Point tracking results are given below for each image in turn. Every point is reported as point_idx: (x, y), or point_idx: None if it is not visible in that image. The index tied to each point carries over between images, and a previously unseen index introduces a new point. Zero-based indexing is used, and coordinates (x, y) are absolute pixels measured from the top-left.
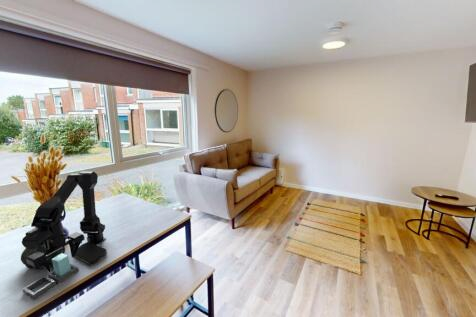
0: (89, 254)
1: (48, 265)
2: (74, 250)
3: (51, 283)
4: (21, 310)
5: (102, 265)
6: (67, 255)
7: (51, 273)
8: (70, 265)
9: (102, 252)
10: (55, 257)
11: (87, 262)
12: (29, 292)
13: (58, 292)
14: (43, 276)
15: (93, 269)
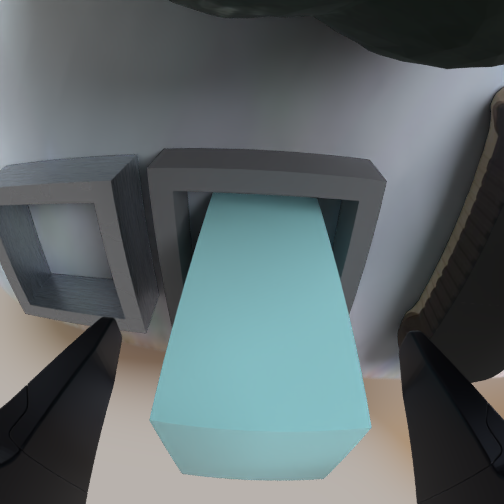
0: (484, 315)
1: (81, 472)
2: (416, 477)
3: (122, 325)
4: (4, 283)
5: (399, 374)
6: (323, 477)
7: (179, 190)
8: (347, 267)
9: (482, 373)
10: (216, 438)
11: (419, 310)
12: (7, 275)
13: (146, 345)
14: (98, 190)
15: (363, 365)
